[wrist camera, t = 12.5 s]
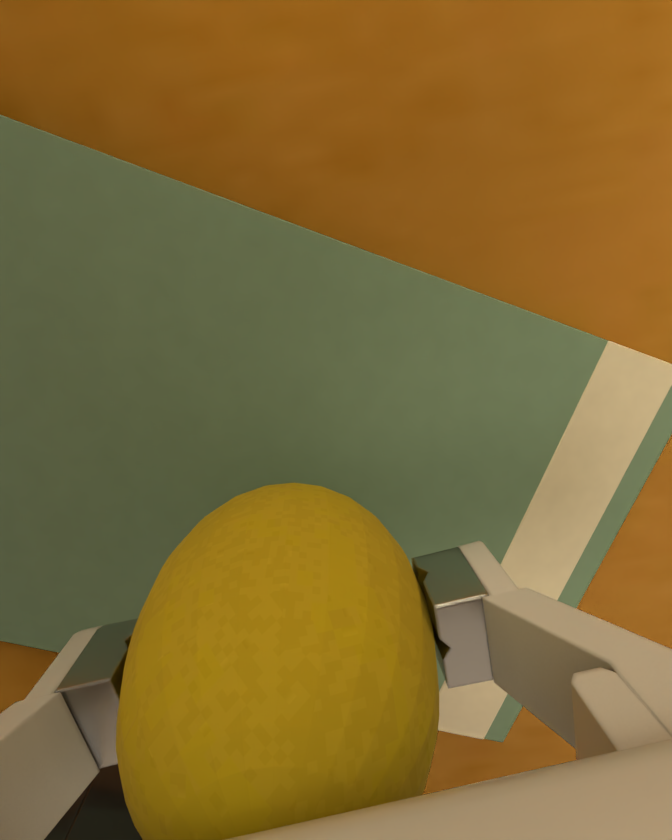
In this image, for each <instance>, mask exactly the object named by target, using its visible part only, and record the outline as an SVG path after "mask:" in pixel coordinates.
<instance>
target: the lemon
mask: <svg viewBox="0 0 672 840" xmlns="http://www.w3.org/2000/svg"><path fill="white" fill-rule="evenodd" d="M438 723H439V685H438V672H437V661H436V651H435V641H434V634H433V627H432V622H431V618H430V615H429V612H428V608H427V603H426V600H425V597H424V595H423V592H422V590H421V588H420V585H419V583H418V581H417V578H416V576H415V574H414V571H413V569H412V567H411V564H410V562H409V560H408V558H407V556H406V554H405V553H404V551H403V549H402V548H401V546H400V545H399V544H398V543H397V541H396V540H395V539H394V538H393V536H392V535H391V534H390V533H389V531H388V530H387V529H386V528H385V527H384V525H383V524H382V523H381V522H380V520H379V519H378V518H377V517H376V516H375V515H373V514H372V513H371V512H370V511H368V510H367V509H365V508H364V507H363V506H361V505H360V504H358V503H357V502H356V501H354V500H353V499H351V498H350V497H348V496H346V495H343V494H340V493H338V492H335V491H333V490H330V489H327V488H325V487H322V486H317V485H309V484H302V483H284V484H274V485H266V486H263V487H260V488H257V489H255V490H252V491H249V492H246V493H243V494H240V495H237V496H235V497H234V498H232V499H231V500H229V501H228V502H226V503H225V504H223V505H222V506H220V507H219V508H217V509H216V510H214V511H212V512H211V513H210V514H208V515H207V516H205V517H204V518H203V519H202V520H201V521H200V522H199V523H198V524H197V525H196V526H195V527H194V528H193V529H192V531H191V532H190V533H189V534H188V535H187V536H186V537H185V538H184V539H183V540H182V542H181V543H180V544H179V545H178V546H177V547H176V548H175V550H174V551H173V552H172V553H171V555H170V556H169V557H168V559H167V560H166V562H165V564H164V565H163V567H162V568H161V570H160V572H159V574H158V576H157V578H156V580H155V583H154V585H153V587H152V589H151V591H150V593H149V595H148V597H147V599H146V601H145V604H144V606H143V608H142V610H141V612H140V615H139V617H138V620H137V622H136V625H135V628H134V631H133V634H132V637H131V641H130V644H129V648H128V652H127V657H126V661H125V666H124V671H123V678H122V685H121V692H120V700H119V707H118V715H117V723H116V753H117V760H118V767H119V774H120V778H121V783H122V788H123V793H124V798H125V802H126V805H127V808H128V810H129V813H130V816H131V818H132V821H133V823H134V826H135V828H136V829H137V831H138V832H139V834H140V836H141V837H142V839H143V840H225V839H230V838H234V837H238V836H243V835H247V834H252V833H256V832H261V831H265V830H269V829H274V828H278V827H283V826H287V825H292V824H296V823H300V822H305V821H309V820H314V819H318V818H323V817H327V816H331V815H336V814H340V813H345V812H349V811H354V810H358V809H362V808H367V807H371V806H376V805H380V804H385V803H389V802H393V801H398V800H402V799H407V798H411V797H416V796H420V795H422V794H423V792H424V789H425V785H426V782H427V778H428V774H429V771H430V767H431V762H432V758H433V753H434V749H435V744H436V740H437V732H438Z"/></svg>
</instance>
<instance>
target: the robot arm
mask: <svg viewBox="0 0 672 840" xmlns="http://www.w3.org/2000/svg"><path fill="white" fill-rule="evenodd" d="M411 560H412V567H413V571H414V574H415V576H416V578H417V581H418V583H419V585H420V588H421V590H422V592H423V595H424V597H425V600H426V603H427V608H428V612H429V615H430V618H431V622H432V627H433V634H434V641H435V651H436V656H437V660H438V663H439V665H440V668H441V670H442V673H443V676H444V678H445V681H446V684H447V686H448V689H449V688H454V687H459V686H464V685H470V684H475V683H480V682H485V681H490V680H494V683H495V684H497V685H498V686H499V687H500V688H501V689H503V690H504V691H505V692H506V693H508V694H509V695H510V696H511V697H513V698H514V699H515V700H516V701H517V702H519V703H520V704H521V705H522V706H524V707H525V708H526V709H527V710H529V711H530V712H531V713H532V714H533V715H535V716H536V717H537V718H538V719H540V720H541V721H542V722H543V723H545V724H546V725H547V726H548V727H549V728H551V729H552V730H553V731H554V732H556V733H557V734H558V735H559V736H561V737H562V738H563V739H564V740H565V741H567V742H568V743H569V744H570V745H572V746H573V747H574V748H575V749H576V759H577V760H575V761H571V762H566V763H562V764H557V765H553V766H549V767H544V768H540V769H535V770H531V771H526V772H522V773H517V774H513V775H509V776H504V777H500V778H495V779H491V780H486V781H482V782H478V783H473V784H469V785H464V786H460V787H455V788H451V789H447V790H442V791H438V792H433V793H429V794H424V795H420V796H416V797H411V798H407V799H402V800H398V801H393V802H389V803H385V804H380V805H376V806H371V807H367V808H362V809H358V810H354V811H349V812H345V813H340V814H336V815H331V816H327V817H323V818H318V819H314V820H309V821H305V822H300V823H296V824H292V825H287V826H283V827H278V828H274V829H269V830H265V831H261V832H256V833H252V834H247V835H243V836H238V837H234V838H230V839H225V840H672V649H670V648H668V647H666V646H663V645H661V644H659V643H656V642H654V641H651V640H649V639H647V638H644V637H642V636H640V635H637V634H635V633H633V632H630V631H628V630H625V629H623V628H621V627H618V626H616V625H614V624H611V623H609V622H607V621H604V620H602V619H600V618H597V617H595V616H592V615H590V614H588V613H585V612H583V611H581V610H578V609H576V608H574V607H571V606H569V605H566V604H564V603H562V602H559V601H557V600H555V599H552V598H550V597H548V596H545V595H543V594H541V593H538V592H536V591H533V590H531V589H529V588H521V589H519V588H518V587H517V586H516V585H515V583H514V582H513V581H512V579H511V578H510V577H509V575H508V574H507V573H506V572H505V570H504V569H503V568H502V566H501V565H500V564H499V563H498V561H497V560H496V559H495V557H494V556H493V555H492V553H491V552H490V551H489V550H488V548H487V547H486V546H485V544H484V543H483V542H481V541H476V542H472V543H468V544H464V545H461V546H457V547H455V548H451V549H447V550H443V551H438V552H434V553H430V554H426V555H421V556H417V557H413V558H411ZM137 620H138V618H137V619H132V620H127V621H122V622H117V623H112V624H107V625H104V626H97V627H93V628H89V629H84V630H81V631H79V632H77V633H75V634H74V635H73V636H72V637H71V638H70V640H69V641H68V642H67V644H66V645H65V646H64V648H63V649H62V650H61V652H60V653H59V654H58V656H57V657H56V658H55V660H54V661H53V662H52V664H51V665H50V666H49V668H48V669H47V670H46V672H45V673H44V674H43V676H42V677H41V678H40V679H39V681H38V682H37V683H36V685H35V686H34V687H33V689H32V690H31V691H30V693H29V694H28V695H27V697H26V698H25V699H24V700H22V701H18V702H15V703H14V704H12V705H11V706H10V707H8V708H7V709H6V710H4V711H3V712H2V713H0V840H44V839H45V838H46V837H47V835H48V834H49V833H50V832H51V830H52V829H53V828H54V827H55V826H56V824H57V823H58V822H59V821H60V819H61V818H62V817H63V816H64V815H65V813H66V812H67V811H68V810H69V808H70V807H71V806H72V805H73V804H74V802H75V801H76V800H77V799H78V797H79V796H80V795H81V794H82V793H83V791H84V790H85V789H86V788H87V786H88V785H89V784H90V783H91V781H92V780H93V779H94V778H95V777H96V775H97V774H98V773H99V772H100V770H99V769H100V768H104V767H108V766H111V765H115V764H118V760H117V753H116V723H117V715H118V707H119V700H120V692H121V685H122V678H123V671H124V666H125V661H126V657H127V652H128V648H129V644H130V641H131V637H132V634H133V631H134V628H135V625H136V622H137Z"/></svg>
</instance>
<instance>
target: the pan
mask: <svg viewBox="0 0 672 840" xmlns="http://www.w3.org/2000/svg"><path fill="white" fill-rule="evenodd" d="M99 770H100V772H99V773H98V774H97V775H96V777H95V778H94V779H93V780H92V781H91V783H90V784H89V785H88V786H87V788H86V789H85V790H84V791H83V793H82V794H81V795H80V796H79V797H78V799H77V800H76V801H75V802H74V804H73V805H72V806H71V807H70V808H69V810H68V811H67V812H66V813H65V815H64V816H63V817H62V818H61V819H60V821H59V822H58V823H57V824H56V826H55V827H54V828H53V829H52V830H51V832H50V833H49V834H48V835H47V837H46V838H45V839H44V840H143V839H142V837H141V836H140V834H139V832H138V831H137V829H136V828H135V826H134V823H133V821H132V818H131V816H130V813H129V810H128V808H127V805H126V802H125V798H124V793H123V788H122V783H121V778H120V774H119V767H118V764H115V765H111V766H108V767H104V768H100V769H99Z"/></svg>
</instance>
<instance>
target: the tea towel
mask: <svg viewBox="0 0 672 840" xmlns="http://www.w3.org/2000/svg"><path fill="white" fill-rule="evenodd" d="M671 434H672V364H670V363H668V362H665V361H662V360H660V359H657V358H654V357H652V356H649V355H646V354H644V353H641V352H638V351H636V350H633V349H630V348H627V347H625V346H622V345H619V344H617V343H614V342H611V341H608V340H605V339H603V338H600V337H597V336H594V335H592V334H589V333H586V332H584V331H581V330H578V329H576V328H573V327H570V326H568V325H565V324H562V323H559V322H557V321H554V320H551V319H549V318H546V317H543V316H541V315H538V314H535V313H533V312H530V311H527V310H524V309H522V308H519V307H516V306H514V305H511V304H508V303H506V302H503V301H500V300H498V299H495V298H492V297H489V296H487V295H484V294H481V293H479V292H476V291H473V290H471V289H468V288H465V287H463V286H460V285H457V284H455V283H452V282H449V281H446V280H444V279H441V278H438V277H436V276H433V275H430V274H428V273H425V272H422V271H420V270H417V269H414V268H411V267H409V266H406V265H403V264H401V263H398V262H395V261H393V260H390V259H387V258H385V257H382V256H379V255H376V254H374V253H371V252H368V251H366V250H363V249H360V248H358V247H355V246H352V245H350V244H347V243H344V242H341V241H339V240H336V239H333V238H331V237H328V236H325V235H323V234H320V233H317V232H315V231H312V230H309V229H306V228H304V227H301V226H298V225H296V224H293V223H290V222H288V221H285V220H282V219H280V218H277V217H274V216H272V215H269V214H266V213H263V212H261V211H258V210H255V209H253V208H250V207H247V206H245V205H242V204H239V203H237V202H234V201H231V200H228V199H226V198H223V197H220V196H218V195H215V194H212V193H210V192H207V191H204V190H202V189H199V188H196V187H193V186H191V185H188V184H185V183H183V182H180V181H177V180H175V179H172V178H169V177H167V176H164V175H161V174H158V173H156V172H153V171H150V170H148V169H145V168H142V167H140V166H137V165H134V164H132V163H129V162H126V161H124V160H121V159H118V158H115V157H113V156H110V155H107V154H105V153H102V152H99V151H97V150H94V149H91V148H89V147H86V146H83V145H80V144H78V143H75V142H72V141H70V140H67V139H64V138H62V137H59V136H56V135H54V134H51V133H48V132H45V131H43V130H40V129H37V128H35V127H32V126H29V125H27V124H24V123H21V122H19V121H16V120H13V119H10V118H8V117H5V116H2V115H0V641H3V642H8V643H13V644H18V645H23V646H28V647H33V648H38V649H43V650H48V651H53V652H58V653H60V652H61V650H62V649H63V648H64V646H65V645H66V644H67V642H68V641H69V640H70V638H71V637H72V636H73V635H74V634H75V633H77V632H79V631H81V630H84V629H89V628H93V627H97V626H104V625H107V624H112V623H117V622H122V621H127V620H132V619H137V618H138V617H139V615H140V612H141V610H142V608H143V606H144V604H145V601H146V599H147V597H148V595H149V593H150V591H151V589H152V587H153V585H154V583H155V580H156V578H157V576H158V574H159V572H160V570H161V568H162V567H163V565H164V564H165V562H166V560H167V559H168V557H169V556H170V555H171V553H172V552H173V551H174V550H175V548H176V547H177V546H178V545H179V544H180V543H181V542H182V540H183V539H184V538H185V537H186V536H187V535H188V534H189V533H190V532H191V531H192V529H193V528H194V527H195V526H196V525H197V524H198V523H199V522H200V521H201V520H202V519H203V518H204V517H205V516H207V515H208V514H210V513H211V512H212V511H214V510H216V509H217V508H219V507H220V506H222V505H223V504H225V503H226V502H228V501H229V500H231V499H232V498H234V497H235V496H237V495H240V494H243V493H246V492H249V491H252V490H255V489H257V488H260V487H263V486H266V485H274V484H284V483H302V484H309V485H317V486H322V487H325V488H327V489H330V490H333V491H335V492H338V493H340V494H343V495H346V496H348V497H350V498H351V499H353V500H354V501H356V502H357V503H358V504H360V505H361V506H363V507H364V508H365V509H367V510H368V511H370V512H371V513H372V514H373V515H375V516H376V517H377V518H378V519H379V520H380V522H381V523H382V524H383V525H384V527H385V528H386V529H387V530H388V531H389V533H390V534H391V535H392V536H393V538H394V539H395V540H396V541H397V543H398V544H399V545H400V546H401V548H402V549H403V551H404V553H405V554H406V556H407V558H408V560H409V562H410V564H411V567H412V560H411V558H413V557H417V556H421V555H426V554H430V553H434V552H438V551H443V550H447V549H451V548H455V547H457V546H461V545H464V544H468V543H472V542H476V541H481V542H483V543H484V544H485V546H486V547H487V548H488V550H489V551H490V552H491V553H492V555H493V556H494V557H495V559H496V560H497V561H498V563H499V564H500V565H501V566H502V568H503V569H504V570H505V572H506V573H507V574H508V575H509V577H510V578H511V579H512V581H513V582H514V583H515V585H516V586H517V587H518V588H519V589H521V588H529V589H531V590H533V591H536V592H538V593H541V594H543V595H545V596H548V597H550V598H552V599H555V600H557V601H559V602H562V603H564V604H566V605H569V606H571V607H574V608H577V606H578V604H579V602H580V601H581V599H582V597H583V595H584V593H585V591H586V590H587V588H588V586H589V584H590V582H591V580H592V579H593V577H594V575H595V573H596V571H597V569H598V568H599V566H600V564H601V562H602V560H603V559H604V557H605V555H606V553H607V551H608V549H609V548H610V546H611V544H612V542H613V540H614V538H615V537H616V535H617V533H618V531H619V529H620V527H621V526H622V524H623V522H624V520H625V518H626V516H627V515H628V513H629V511H630V509H631V507H632V505H633V504H634V502H635V500H636V498H637V496H638V495H639V493H640V491H641V489H642V487H643V485H644V484H645V482H646V480H647V478H648V476H649V474H650V473H651V471H652V469H653V467H654V465H655V463H656V462H657V460H658V458H659V456H660V454H661V452H662V451H663V449H664V447H665V445H666V443H667V442H668V440H669V438H670V436H671ZM412 569H413V567H412ZM436 661H437V672H438V685H439V723H438V730H439V731H444V732H449V733H454V734H458V735H463V736H468V737H473V738H478V739H488V740H493V741H498V742H503V741H504V740H505V738H506V736H507V734H508V732H509V730H510V729H511V727H512V725H513V723H514V721H515V719H516V718H517V716H518V714H519V712H520V710H521V708H522V707H523V706H522V705H521V704H520V703H519V702H517V701H516V700H515V699H514V698H513V697H511V696H510V695H509V694H508V693H506V692H505V691H504V690H503V689H501V688H500V687H499V686H498V685H497V684H495V683H494V680H490V681H485V682H480V683H475V684H470V685H464V686H459V687H454V688H449V689H448V686H447V684H446V681H445V678H444V676H443V673H442V670H441V668H440V665H439V663H438V660H437V656H436Z"/></svg>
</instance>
